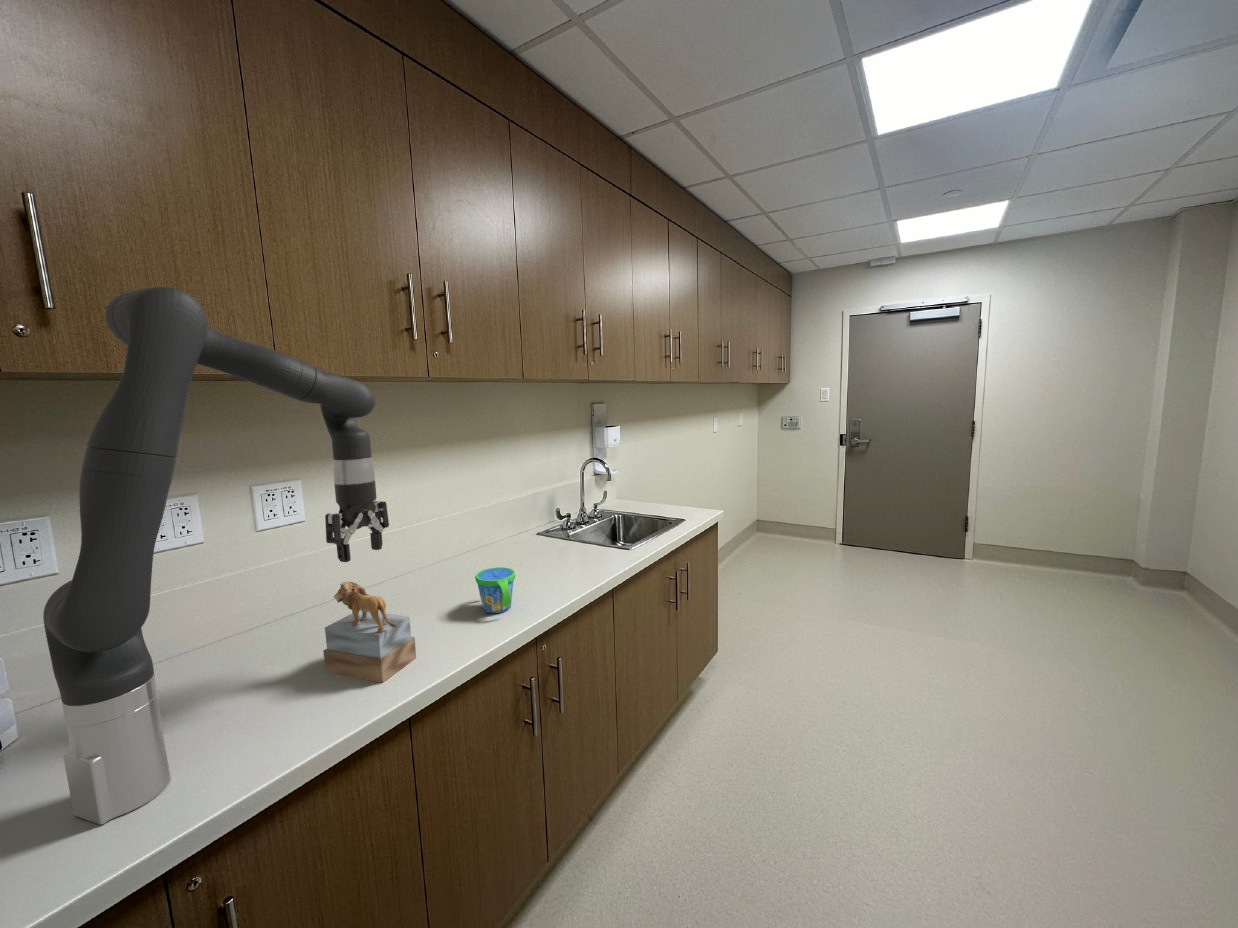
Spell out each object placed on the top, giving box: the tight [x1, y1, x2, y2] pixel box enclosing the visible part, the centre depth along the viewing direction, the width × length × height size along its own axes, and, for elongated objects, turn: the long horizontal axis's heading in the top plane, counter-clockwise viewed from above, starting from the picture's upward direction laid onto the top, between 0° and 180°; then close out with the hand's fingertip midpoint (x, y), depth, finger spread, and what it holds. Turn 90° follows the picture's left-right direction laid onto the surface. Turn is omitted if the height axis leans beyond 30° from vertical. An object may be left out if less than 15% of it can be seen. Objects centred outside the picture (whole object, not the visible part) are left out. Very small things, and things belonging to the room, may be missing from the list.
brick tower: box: [323, 610, 417, 684], centre depth 106 cm, size 10×15×10 cm, turn 73°
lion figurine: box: [333, 581, 397, 632], centre depth 104 cm, size 15×5×9 cm, turn 72°
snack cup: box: [474, 566, 517, 614], centre depth 134 cm, size 16×10×10 cm
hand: (361, 555), depth 104 cm, fingers open, 8 cm apart
